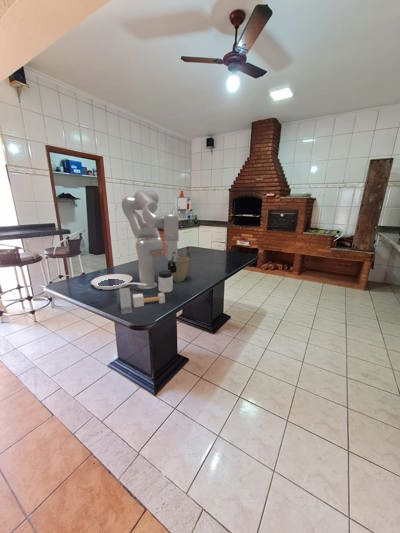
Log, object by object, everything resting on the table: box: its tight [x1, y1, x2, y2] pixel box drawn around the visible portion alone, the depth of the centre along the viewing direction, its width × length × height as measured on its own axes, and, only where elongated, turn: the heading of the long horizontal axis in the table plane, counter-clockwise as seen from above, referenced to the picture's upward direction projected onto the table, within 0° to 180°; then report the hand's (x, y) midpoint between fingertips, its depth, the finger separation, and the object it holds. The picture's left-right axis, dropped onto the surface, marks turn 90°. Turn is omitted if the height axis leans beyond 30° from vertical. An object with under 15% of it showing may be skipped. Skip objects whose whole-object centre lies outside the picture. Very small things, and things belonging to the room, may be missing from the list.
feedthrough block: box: [118, 287, 133, 315], centre depth 116 cm, size 16×5×9 cm, turn 21°
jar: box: [157, 269, 174, 294], centre depth 139 cm, size 9×8×12 cm
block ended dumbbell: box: [132, 292, 166, 308], centre depth 120 cm, size 4×16×6 cm, turn 111°
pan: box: [90, 273, 147, 291], centre depth 145 cm, size 26×44×6 cm, turn 59°
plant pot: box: [172, 256, 190, 283], centre depth 157 cm, size 15×15×16 cm
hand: (172, 270), depth 121 cm, fingers open, 4 cm apart
